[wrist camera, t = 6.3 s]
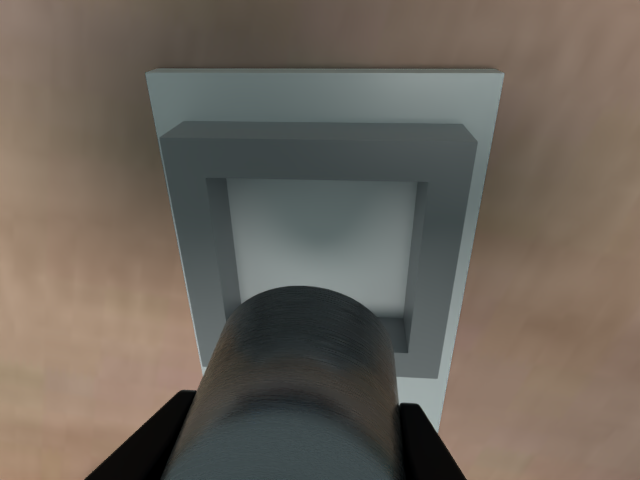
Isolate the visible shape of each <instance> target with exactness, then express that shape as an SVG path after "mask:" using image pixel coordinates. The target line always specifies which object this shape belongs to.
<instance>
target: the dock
mask: <svg viewBox="0 0 640 480" xmlns="http://www.w3.org/2000/svg"><path fill="white" fill-rule="evenodd" d="M504 74H505V73H503V72H501V71H499V70H497V69H330V68H157V69H154V70H151V71H148V72H145V75H146V80H147V86H148V91H149V96H150V101H151V107H152V112H153V117H154V122H155V127H156V133H157V138H158V143H159V148H160V154H161V159H162V164H163V169H164V175H165V180H166V185H167V190H168V196H169V201H170V206H171V211H172V217H173V222H174V227H175V232H176V237H177V243H178V248H179V253H180V258H181V264H182V269H183V274H184V279H185V285H186V290H187V295H188V300H189V306H190V311H191V316H192V321H193V326H194V332H195V337H196V342H197V347H198V353H199V358H200V363H201V368H202V374H203V375H204V373H205V371H206V368H207V366H208V363H209V361H210V359H211V356H212V354H213V351H214V349H215V347H216V344H217V342H218V340H219V337H220V335H221V332H222V330H223V328H224V326H225V324H226V322H227V320H228V318H229V317H230V315H231V314H232V313H233V312H234V311H235V310H236V309H237V308H238V307H239V306H240V305H241V304H242V303H244V302H245V301H246V300H248V299H249V298H251V297H253V296H255V295H257V294H259V293H262V292H264V291H267V290H270V289H274V288H279V287H286V286H314V287H320V288H325V289H329V290H333V291H336V292H339V293H342V294H344V295H346V296H348V297H351V298H353V299H354V300H356V301H358V302H359V303H361V304H362V305H364V306H365V307H366V308H368V309H369V310H370V311H371V312H372V313H373V314H374V315H375V316H376V317H377V318H378V319H379V320H380V321H381V323H382V324H383V325H384V327H385V328H386V330H387V332H388V334H389V336H390V338H391V341H392V344H393V350H394V358H395V368H396V378H397V388H398V398H399V405H400V403H417V404H419V405H420V407H421V408H422V410H423V411H424V413H425V414H426V416H427V417H428V419H429V421H430V422H431V424H432V425H433V427H434V429H435V430H436V432H437V433H438V430H439V424H440V419H441V414H442V408H443V403H444V397H445V392H446V387H447V381H448V376H449V370H450V365H451V360H452V354H453V349H454V343H455V338H456V333H457V327H458V322H459V317H460V311H461V306H462V300H463V295H464V290H465V284H466V279H467V273H468V268H469V263H470V257H471V252H472V246H473V241H474V236H475V230H476V225H477V219H478V214H479V209H480V203H481V198H482V193H483V187H484V182H485V176H486V171H487V166H488V160H489V155H490V149H491V144H492V139H493V133H494V128H495V122H496V117H497V112H498V106H499V101H500V96H501V90H502V85H503V79H504Z"/></svg>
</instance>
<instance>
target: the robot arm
mask: <svg viewBox="0 0 640 480" xmlns="http://www.w3.org/2000/svg"><path fill="white" fill-rule="evenodd" d="M196 392H197V391H196V390H181V391H179V392H178V393H177V394H176V395H175V396H173V397H172V398H171V399H170V400H169V401H168V402H167V403H166V404H165V405H164V406H163V407H162V408H161V409H160V410H158V411H157V412H156V413H155V414H154V415H153V416H152V417H151V418H150V419H149V420H148V421H147V422H146V423H144V424H143V425H142V426H141V427H140V428H139V429H138V430H137V431H136V432H135V433H134V434H133V435H132V436H130V437H129V438H128V439H127V440H126V441H125V442H124V443H123V444H122V445H121V446H120V447H119V448H118V449H117V450H115V451H114V452H113V453H112V454H111V455H110V456H109V457H108V458H107V459H106V460H105V461H104V462H103V463H101V464H100V465H99V466H98V467H97V468H96V469H95V470H94V471H93V472H92V473H91V474H90V475H89V476H88V477H86V478H85V479H84V480H160V478H161V475H162V473H163V471H164V468H165V466H166V463H167V461H168V459H169V456H170V454H171V452H172V449H173V447H174V444H175V442H176V440H177V437H178V435H179V432H180V430H181V428H182V425H183V423H184V421H185V418H186V416H187V413H188V411H189V409H190V406H191V404H192V402H193V399H194V397H195V394H196ZM399 409H400V420H401V430H402V440H403V450H404V460H405V469H406V480H467V479H466V478H465V476H464V475H463V473H462V472H461V470H460V468H459V467H458V465H457V464H456V462H455V460H454V459H453V457H452V456H451V454H450V452H449V451H448V449H447V448H446V446H445V444H444V443H443V441H442V440H441V438H440V437H439V435H438V433H437V432H436V430H435V429H434V427H433V425H432V424H431V422H430V421H429V419H428V417H427V416H426V414H425V413H424V411H423V410H422V408H421V407H420V405H419V404H417V403H400V405H399Z"/></svg>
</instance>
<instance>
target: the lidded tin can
mask: <svg viewBox="0 0 640 480" xmlns="http://www.w3.org/2000/svg"><path fill="white" fill-rule="evenodd" d="M160 480H406V469H405V460H404V450H403V440H402V430H401V420H400V409H399V398H398V388H397V378H396V368H395V358H394V350H393V344H392V341H391V338H390V336H389V334H388V332H387V330H386V328H385V327H384V325H383V324H382V323H381V321H380V320H379V319H378V318H377V317H376V316H375V315H374V314H373V313H372V312H371V311H370V310H369V309H368V308H366V307H365V306H364V305H362V304H361V303H359V302H358V301H356V300H354V299H353V298H351V297H348V296H346V295H344V294H342V293H339V292H336V291H333V290H329V289H325V288H320V287H314V286H286V287H279V288H274V289H270V290H267V291H264V292H262V293H259V294H257V295H255V296H253V297H251V298H249V299H248V300H246V301H245V302H244V303H242V304H241V305H240V306H239V307H238V308H237V309H236V310H235V311H234V312H233V313H232V314H231V315H230V317H229V318H228V320H227V322H226V324H225V326H224V328H223V330H222V332H221V335H220V337H219V340H218V342H217V344H216V347H215V349H214V351H213V354H212V356H211V359H210V361H209V363H208V366H207V368H206V371H205V373H204V375H203V378H202V380H201V382H200V385H199V387H198V390H197V392H196V394H195V397H194V399H193V402H192V404H191V406H190V409H189V411H188V413H187V416H186V418H185V421H184V423H183V425H182V428H181V430H180V432H179V435H178V437H177V440H176V442H175V444H174V447H173V449H172V452H171V454H170V456H169V459H168V461H167V463H166V466H165V468H164V471H163V473H162V475H161V478H160Z"/></svg>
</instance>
